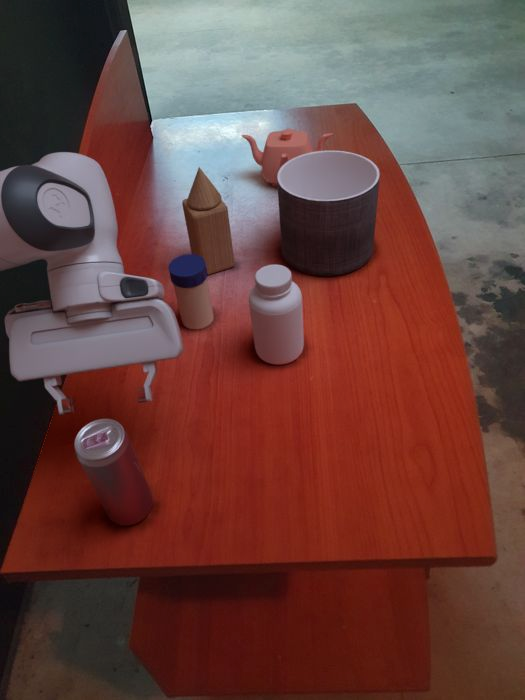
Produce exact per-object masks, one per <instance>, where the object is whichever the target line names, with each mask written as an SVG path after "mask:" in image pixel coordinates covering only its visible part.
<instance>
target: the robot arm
mask: <svg viewBox="0 0 525 700" xmlns="http://www.w3.org/2000/svg"><path fill="white" fill-rule="evenodd" d="M118 236H119V229H118V220H117V214H116V209H115V204H114V200H113V196H112V191H111V188H110V184H109V183H108V179H107V176H106V175H105V172H104V170H103V168H102V166H101V165H100V163H99V162H97V161H96V160H95V159H93V158H92V157H89V156H87V155H85V154H82V153H77V152H71V151H56V152H51V153H47V154H46V155H44V156H43V157H42V158H40V159H39V161H37V162H35V163H32V164H23V165H16V166H12V167H9V168H7V169H3V170H0V272H3V271H7V270H10V269H14V268H17V267H20V266H24V265H27V264H30V263H32V262H36V261H40V260H44V261H46V263H47V266H46V273H47V280H48V288H49V293H50V299H45V300H38V301H35V302H29V303H28V302H27V303H26V302H25V303H19V304H16V305H14V308H12V309H10V310H9V311H8V312H7V313H6V315H5V317H4V326H5V328H4V329H5V333H6V336H7V339H9V340H8V341H9V342H8V356H9V369H10V374H11V376H12V377H13V378H14V379H16V380H17V381H18V382H26V381H34V380H41V379H43V383H44V384H43V385H44V389H45V390H46V391H47V392H48V393H49V394H50V396H51V397H52V398H53V400H55V401H56V403H57V404H56V405H57V411H58V415H59V416H61V415H68V414H73V413H76V407H75V405H74V404H75V399H74V397H67V396H66V395H65V393H64V392H63V391H62V390H61V389H60V387H59V386H62V385H63V382H62V376H66V375H73V374H78V373H79V374H80V373H87V372H94V371H100V370H107V369H113V368H114V369H115V368H120V367H126V366H127V367H128V366H135V365H142V371H143V373H147V375H146V378H145V381H144V384H143V386H140V387H137V388H136V394H137V401H138V403H139V404H141V403H148V402H152V401H153V392H152V385H153V383H154V380H155V378H156V375H157V373H158V364H157V362H161V361H168V360H175V359H179V358H181V356H182V354H183V352H184V341H183V338H182V333H181V330H180V326H179V322H178V319H177V317H176V314H175V311H174V310H173V308H172V307H171V306H170V305H169V303H166V302H165V301H164V299H165V297H166V291H165V287H164V284H162V282H160V281H159V280H157V279H155V278H151V277H145V276H139V275H133V274H126V273H125V267H124V262H123V260H122V257H121V255H120V253H119V250H118Z"/></svg>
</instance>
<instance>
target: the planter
mask: <svg viewBox="0 0 525 700" xmlns="http://www.w3.org/2000/svg"><path fill="white" fill-rule="evenodd" d="M380 176H381V173H380V169H379V167H378V166H377V165H376V163H374V162H373V160H371V159H370V158H367V157H365V156H364V155H362V154H357V153H354V152H351V151H345V150H330V149H329V150H323V151H317V152H311V153H306V154H303V155H300V156H297V157H295V158H293V159H291V160H289V161H288V162H286V163H285V164H284V165H283V166H282V167H281V168H280V169H279V171H278V174H277V185H278V186H277V199H278V201H277V202H278V215H279V228H280V229H279V230H280V231H279V232H280V247H281V248H280V252H281V256H282V257H283V258H282V259H284V261H285V263H287V264H288V265H289V266H290V267H292V268H293V269H295V270H297V271H299V272H301V273H304V274H308V275H312V276H320V277H334V276H335V277H336V276H341V275H346V274H350V273H352V272H354V271H356V270H359V269H361V268H362V267H363V266H365V265H366V264H367V263H368V262H369V261H370V260H371V258H372V256H373V255H374V249H375V232H376V224H377V223H376V222H377V211H378V202H379V201H378V200H379V191H380V189H379V187H380V178H381V177H380Z"/></svg>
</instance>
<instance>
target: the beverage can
mask: <svg viewBox="0 0 525 700" xmlns="http://www.w3.org/2000/svg"><path fill="white" fill-rule="evenodd" d="M73 447H74V451H75V456H76V459H77V460H78V462H79V464H80V467H81V468H82V470H83V472H84V473H85V476H86V477H87V480H88V481H89V483H90V485H91V487H92V488H93V490H94V492H95V494H96V496H97V498H98V500H99V501H100V503H101V505H102V507H103V510H104V511H105V513H106V514H107V517H108V518H109V520H111V521H112V523H114V524H116V525H118V526H119V525H120V526H131V525H132V526H133V525H136V524H138V523H140V522H141V521H142V520H144V519H145V518H146V517H147V516H148V514H149V513H150V511H151V510H152V508H153V503H154V498H153V497H154V496H153V493H152V491H151V489H150V486H149V484H148V481H147V479H146V476H145V474H144V471H143V468H142V465H141V464H140V461H139V459H138V456H137V454H136V451H135V449H134V447H133V444H132V442H131V439H130V436H129V434H128V432H127V430H126V429H125V428H124V427H123V425H122V424H121V423H120V422H118V421H117V420H115V419H112V418H100V419H95V420H93V421H90V422H88V423H87V424H85V425H84V426H83V427H82V428H81V429H79V431H78V432H77V434H76V436H75V438H74V443H73Z"/></svg>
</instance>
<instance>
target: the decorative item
mask: <svg viewBox="0 0 525 700" xmlns="http://www.w3.org/2000/svg"><path fill="white" fill-rule="evenodd" d="M196 171H197V172H196V174H195V177H194V179H193V182H192V185H191V188H190V191H189V193H188V196H187V198H185V199H183V200H182V202H181V204H182V210H183V215H184V221H185V225H186V231H187V237H188V242H189V247H190V252H191V254H195V255H199V256H201V257H202V258H203V259H204V260H205V263H206V268H207V274H208V276H209V275H212V274H215V273H218V272H221V271H225V270H227V269H231V268H233V267H234V266H235V255H234V247H233V240H232V233H231V232H232V231H231V224H230V217H229V208H228V206H227V204H226V203H225V202H224V200H223V199H222V194H221V193H220V192H219V191H218V189H217V188H216V186H215V185H214V184H213V183H212V181H211V180H210V179H209V178H208V176H207V175H206V173H205V172H204V171H203V169H202V168H201V167H200V166H198V169H197V170H196Z"/></svg>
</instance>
